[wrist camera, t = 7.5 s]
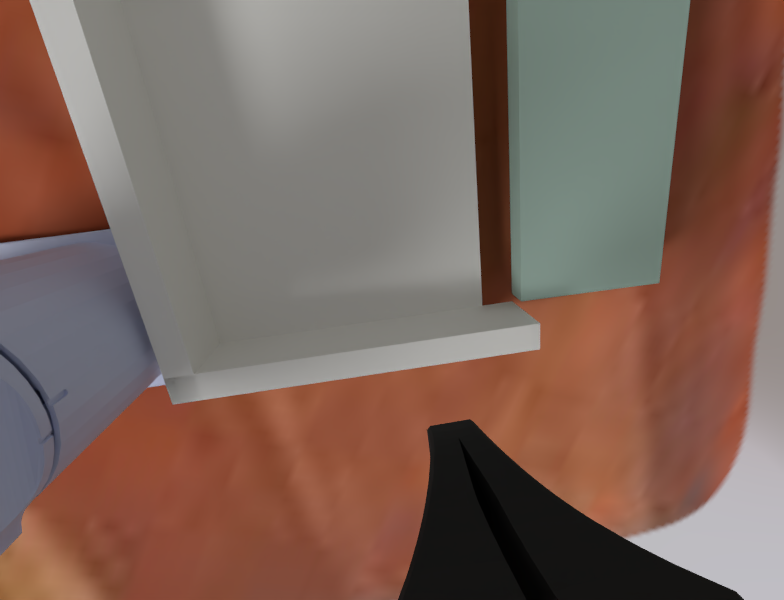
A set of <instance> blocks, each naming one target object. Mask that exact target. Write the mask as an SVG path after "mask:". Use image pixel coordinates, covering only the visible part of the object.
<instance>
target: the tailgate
mask: <svg viewBox="0 0 784 600" xmlns="http://www.w3.org/2000/svg"><path fill="white" fill-rule="evenodd" d="M689 8H690V0H506V14H507V66H508V118H509V170H510V222H511V274H512V294H513V295H514V296H515V297H517V298H518V299H519V300H520V301H527V300H535V299H542V298H550V297H557V296H565V295H572V294H580V293H587V292H595V291H602V290H610V289H617V288H625V287H632V286H640V285H647V284H655V283H659V280H660V271H661V262H662V253H663V244H664V235H665V226H666V217H667V208H668V198H669V189H670V180H671V171H672V162H673V153H674V144H675V135H676V126H677V117H678V108H679V98H680V89H681V80H682V71H683V62H684V53H685V44H686V35H687V26H688V17H689Z"/></svg>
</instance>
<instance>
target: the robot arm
mask: <svg viewBox="0 0 784 600" xmlns="http://www.w3.org/2000/svg"><path fill="white" fill-rule="evenodd" d="M161 385H166V384H165V382H164V379H163V376H162V373H161V370H160V367H159V365H158V362H157V359H156V356H155V353H154V351H153V348H152V345H151V342H150V339H149V336H148V334H147V331H146V328H145V325H144V322H143V319H142V317H141V314H140V311H139V308H138V305H137V302H136V300H135V297H134V294H133V291H132V288H131V286H130V283H129V280H128V277H127V274H126V271H125V269H124V266H123V263H122V260H121V257H120V254H119V252H118V249H117V246H116V243H115V240H114V238H113V235H112V232H111V229H106V230H98V231H90V232H83V233H75V234H67V235H59V236H51V237H44V238H36V239H28V240H20V241H12V242H5V243H0V555H1V554H2V553H3V552H4V551H5V550H6V549H7V548H8V547H9V546H10V545H11V544H12V543H13V542H14V541H15V540H16V539H17V538H18V536H19V535H20V534H21V533H22V527H21V520H22V516H23V513H24V511H25V509H26V508H27V507H28V505H29V504H30V503H31V502H32V501H33V500H34V499H35V497H37V496H38V495H39V494H40V493H41V492H42V491H43V490H44V489H45V488H46V487H47V486H48V485H49V484H50V483H51V482H52V481H53V480H54V479H55V478H56V477H57V476H58V475H59V474H60V473H61V472H62V471H63V470H64V469H65V468H66V467H67V466H68V465H69V464H70V463H71V462H72V461H73V460H75V459H76V458H77V457H78V456H79V455H80V454H81V453H82V452H83V451H84V450H85V449H86V448H87V447H88V446H89V445H90V444H91V443H92V442H93V441H94V440H95V439H96V438H97V437H98V436H99V435H100V434H101V433H102V432H103V431H104V430H105V429H106V428H107V427H108V426H109V425H110V424H111V423H112V422H113V421H114V420H115V419H116V418H117V417H118V416H119V415H120V414H121V413H122V412H123V411H124V410H125V409H126V408H127V407H128V406H129V405H130V404H131V403H132V402H133V401H134V400H135V399H136V398H137V397H138V396H139V395H140V394H141V393H142V392H143V391H144V390H145V389H146V388H147V387H154V386H161ZM427 432H428V441H429V449H430V472H429V483H428V490H427V497H426V503H425V509H424V514H423V519H422V523H421V528H420V532H419V536H418V540H417V543H416V547H415V550H414V554H413V558H412V561H411V564H410V567H409V571H408V574H407V577H406V579H405V582H404V585H403V588H402V590H401V593H400V596H399V599H398V600H744V599H743V598H742V597H741V596H740V595H739V594H738V593H737V592H735V591H733V590H731V589H729V588H726V587H724V586H722V585H720V584H717V583H715V582H713V581H710V580H708V579H706V578H704V577H702V576H699V575H697V574H695V573H693V572H690V571H688V570H686V569H684V568H681V567H679V566H677V565H675V564H673V563H671V562H669V561H667V560H665V559H663V558H661V557H659V556H657V555H655V554H653V553H651V552H649V551H647V550H645V549H643V548H641V547H639V546H637V545H635V544H633V543H632V542H630V541H628V540H626V539H624V538H623V537H621V536H619V535H617V534H616V533H614V532H612V531H611V530H609V529H607V528H605V527H604V526H602V525H600V524H599V523H597V522H595V521H593V520H592V519H590V518H589V517H587V516H585V515H584V514H582V513H581V512H579V511H578V510H576V509H575V508H573V507H572V506H570V505H569V504H567V503H566V502H565V501H563V500H562V499H560V498H559V497H558V496H556V495H555V494H553V493H552V492H551V491H549V490H548V489H547V488H545V487H544V486H543V485H542V484H540V483H539V482H538V481H537V480H535V479H534V478H533V477H532V476H530V475H529V474H528V473H527V472H526V471H524V470H523V469H522V468H521V467H520V466H519V465H517V464H516V463H515V462H514V461H513V460H512V459H511V458H510V457H508V456H507V455H506V454H505V453H504V452H503V451H502V450H501V449H500V448H499V447H498V446H497V445H496V444H495V443H494V442H493V441H492V440H490V439H489V438H488V437H487V436H486V435H485V433H484V432H483V431H482V430H481V429H480V428H479V427H478V426H477V425H476V424H475V423H474V422H473V421H471V420H470V419H469V420H463V421H457V422H452V423H446V424H440V425H434V426H430V427H429V428H428V430H427Z"/></svg>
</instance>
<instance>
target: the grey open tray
mask: <svg viewBox="0 0 784 600" xmlns="http://www.w3.org/2000/svg"><path fill="white" fill-rule="evenodd" d="M30 3H31V6H32V9H33V12H34V14H35V17H36V20H37V23H38V26H39V28H40V31H41V34H42V37H43V40H44V43H45V45H46V48H47V51H48V54H49V57H50V60H51V62H52V65H53V68H54V71H55V74H56V76H57V79H58V82H59V85H60V88H61V91H62V93H63V96H64V99H65V102H66V105H67V108H68V110H69V113H70V116H71V119H72V122H73V125H74V127H75V130H76V133H77V136H78V139H79V141H80V144H81V147H82V150H83V153H84V156H85V158H86V161H87V164H88V167H89V170H90V173H91V175H92V178H93V181H94V184H95V187H96V189H97V192H98V195H99V198H100V201H101V204H102V206H103V209H104V212H105V215H106V218H107V221H108V223H109V226H110V229H111V232H112V235H113V238H114V240H115V243H116V246H117V249H118V252H119V254H120V257H121V260H122V263H123V266H124V269H125V271H126V274H127V277H128V280H129V283H130V286H131V288H132V291H133V294H134V297H135V300H136V302H137V305H138V308H139V311H140V314H141V317H142V319H143V322H144V325H145V328H146V331H147V334H148V336H149V339H150V342H151V345H152V348H153V351H154V353H155V356H156V359H157V362H158V365H159V367H160V370H161V373H162V376H163V379H164V382H165V384H166V387H167V390H168V393H169V396H170V399H171V401H172V404H179V403H186V402H193V401H199V400H206V399H212V398H219V397H226V396H232V395H239V394H246V393H252V392H259V391H266V390H272V389H279V388H286V387H292V386H299V385H306V384H312V383H319V382H325V381H332V380H339V379H345V378H352V377H359V376H365V375H372V374H379V373H385V372H392V371H399V370H405V369H412V368H419V367H425V366H432V365H438V364H445V363H452V362H458V361H465V360H472V359H478V358H485V357H492V356H498V355H505V354H512V353H518V352H525V351H532V350H538V349H540V323H539V322H538V321H536V320H535V319H534V318H533V317H531V316H530V315H529V314H527V313H526V312H525V311H524V310H522V309H521V308H520V307H519V306H517V305H516V304H515V303H513V302H512V301H511V302H504V303H497V304H490V305H483V306H482V286H481V265H480V243H479V221H478V199H477V177H476V156H475V134H474V112H473V90H472V68H471V46H470V25H469V3H468V0H30Z"/></svg>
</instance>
